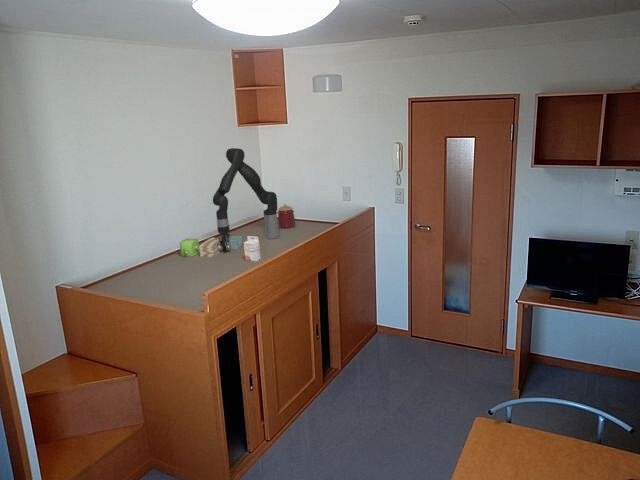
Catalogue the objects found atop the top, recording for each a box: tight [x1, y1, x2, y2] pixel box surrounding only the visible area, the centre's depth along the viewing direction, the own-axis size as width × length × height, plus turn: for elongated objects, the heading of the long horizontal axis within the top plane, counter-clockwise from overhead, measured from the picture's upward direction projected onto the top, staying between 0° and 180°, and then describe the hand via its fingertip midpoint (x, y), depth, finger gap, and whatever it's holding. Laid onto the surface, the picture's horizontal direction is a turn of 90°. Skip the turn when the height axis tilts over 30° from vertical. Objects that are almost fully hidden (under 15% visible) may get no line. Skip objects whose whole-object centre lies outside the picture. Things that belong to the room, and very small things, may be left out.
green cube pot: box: [179, 238, 201, 257], centre depth 354 cm, size 18×10×10 cm, turn 168°
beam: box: [199, 237, 222, 258], centre depth 356 cm, size 9×20×8 cm, turn 170°
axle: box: [217, 244, 232, 251], centre depth 355 cm, size 18×4×4 cm, turn 80°
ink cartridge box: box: [243, 235, 261, 262], centre depth 332 cm, size 9×5×15 cm, turn 65°
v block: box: [229, 235, 244, 250], centre depth 367 cm, size 8×13×6 cm, turn 170°
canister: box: [277, 204, 296, 229], centre depth 413 cm, size 13×13×18 cm
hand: (226, 250), depth 355 cm, fingers closed on axle, 3 cm apart
